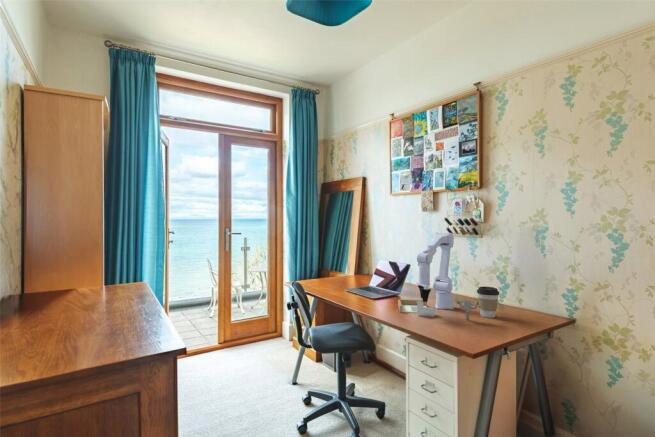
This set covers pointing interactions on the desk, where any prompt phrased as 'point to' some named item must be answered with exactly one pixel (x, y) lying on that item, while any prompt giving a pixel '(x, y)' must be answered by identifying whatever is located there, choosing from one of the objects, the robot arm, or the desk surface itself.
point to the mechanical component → (467, 306)
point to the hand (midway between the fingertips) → (424, 300)
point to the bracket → (425, 310)
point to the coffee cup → (488, 301)
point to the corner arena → (409, 305)
